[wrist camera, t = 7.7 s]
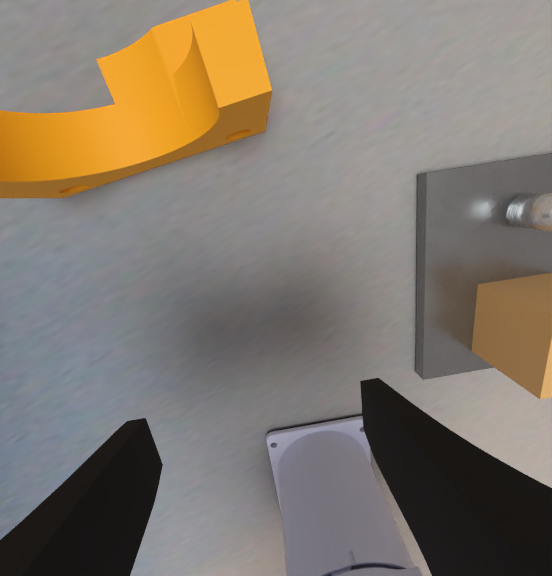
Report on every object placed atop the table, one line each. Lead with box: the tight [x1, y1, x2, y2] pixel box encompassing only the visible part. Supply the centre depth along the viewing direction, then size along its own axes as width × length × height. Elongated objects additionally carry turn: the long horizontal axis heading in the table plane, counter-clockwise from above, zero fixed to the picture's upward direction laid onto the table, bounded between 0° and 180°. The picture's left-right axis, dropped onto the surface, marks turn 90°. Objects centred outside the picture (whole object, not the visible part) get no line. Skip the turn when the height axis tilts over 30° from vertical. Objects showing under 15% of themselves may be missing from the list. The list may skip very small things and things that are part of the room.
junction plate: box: [416, 153, 552, 380], centre depth 17 cm, size 14×12×4 cm
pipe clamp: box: [0, 0, 272, 198], centre depth 12 cm, size 12×4×6 cm, turn 107°
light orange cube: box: [472, 273, 552, 399], centre depth 17 cm, size 5×5×5 cm
